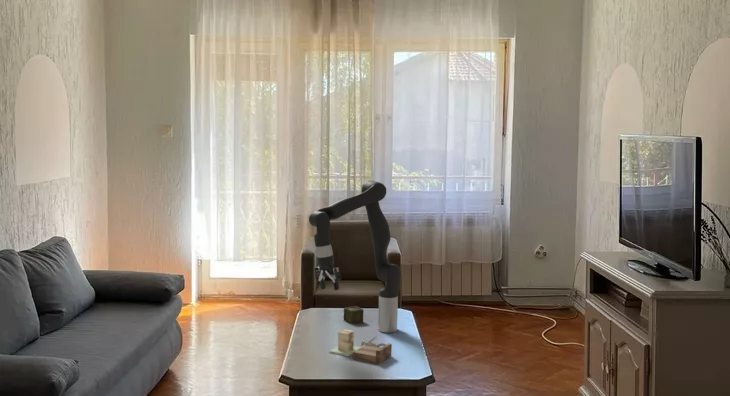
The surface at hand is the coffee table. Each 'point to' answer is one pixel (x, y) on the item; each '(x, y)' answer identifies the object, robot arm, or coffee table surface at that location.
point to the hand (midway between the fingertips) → (330, 289)
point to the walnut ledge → (373, 353)
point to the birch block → (345, 340)
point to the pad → (344, 351)
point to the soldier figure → (372, 343)
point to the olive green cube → (353, 314)
